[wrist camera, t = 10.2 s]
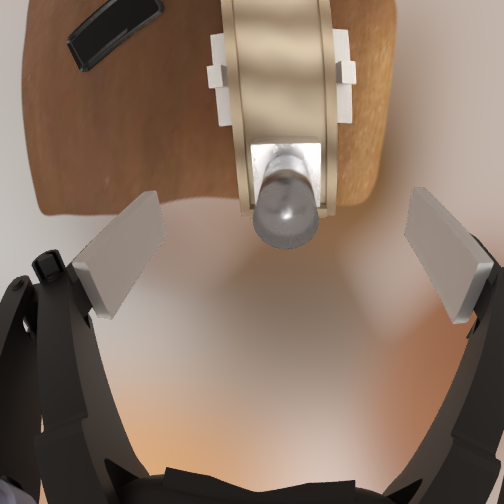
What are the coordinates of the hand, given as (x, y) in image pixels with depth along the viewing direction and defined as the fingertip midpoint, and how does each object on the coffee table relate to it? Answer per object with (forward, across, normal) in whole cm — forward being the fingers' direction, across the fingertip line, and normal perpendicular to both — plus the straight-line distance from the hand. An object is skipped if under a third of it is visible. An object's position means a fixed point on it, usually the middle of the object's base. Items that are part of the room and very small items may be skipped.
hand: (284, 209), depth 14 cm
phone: (+24, -22, +20) cm, 38 cm away
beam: (+19, 0, +8) cm, 21 cm away
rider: (+16, 0, -2) cm, 16 cm away
